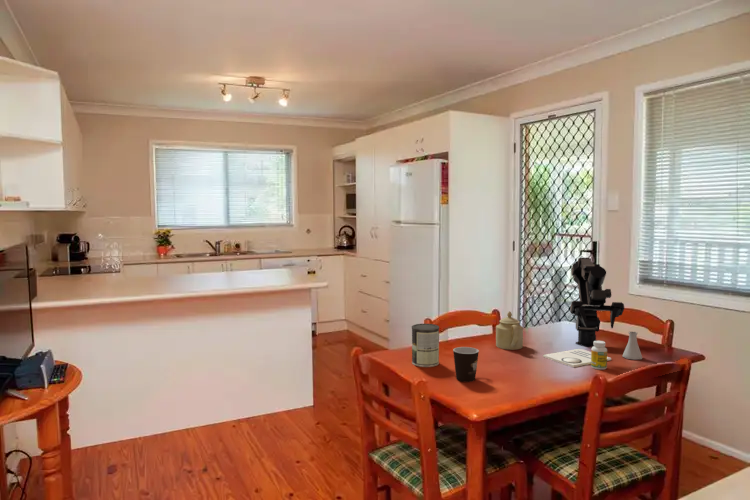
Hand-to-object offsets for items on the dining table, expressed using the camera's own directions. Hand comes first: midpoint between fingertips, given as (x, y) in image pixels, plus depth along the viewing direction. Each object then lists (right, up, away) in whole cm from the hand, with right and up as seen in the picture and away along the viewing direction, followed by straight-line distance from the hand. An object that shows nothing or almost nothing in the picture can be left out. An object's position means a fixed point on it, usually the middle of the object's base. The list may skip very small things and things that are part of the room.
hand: (599, 327), depth 197 cm
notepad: (-7, -13, +5) cm, 15 cm away
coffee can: (-66, -14, 0) cm, 67 cm away
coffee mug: (-52, -15, -18) cm, 57 cm away
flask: (+15, -13, +6) cm, 21 cm away
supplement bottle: (-3, -14, -6) cm, 16 cm away
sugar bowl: (-27, -12, +22) cm, 37 cm away
